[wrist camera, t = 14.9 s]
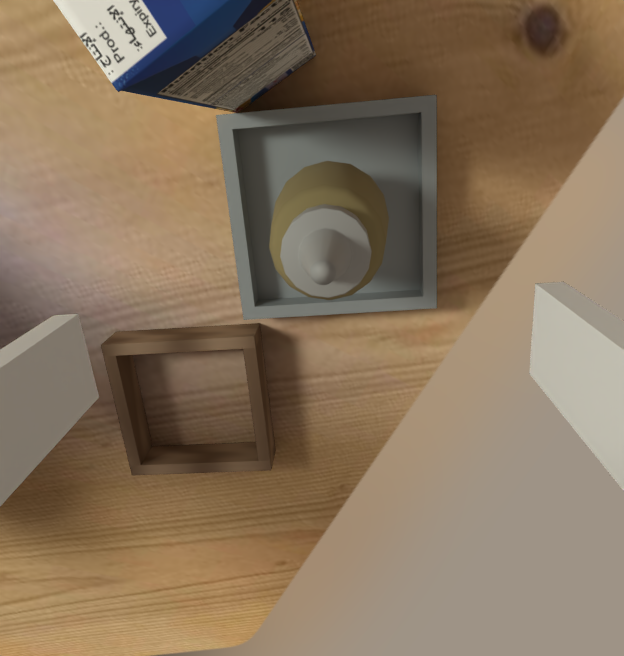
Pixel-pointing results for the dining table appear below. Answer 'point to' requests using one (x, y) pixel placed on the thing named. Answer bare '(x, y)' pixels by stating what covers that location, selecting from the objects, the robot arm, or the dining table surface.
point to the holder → (201, 455)
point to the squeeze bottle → (329, 230)
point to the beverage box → (193, 46)
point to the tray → (345, 147)
